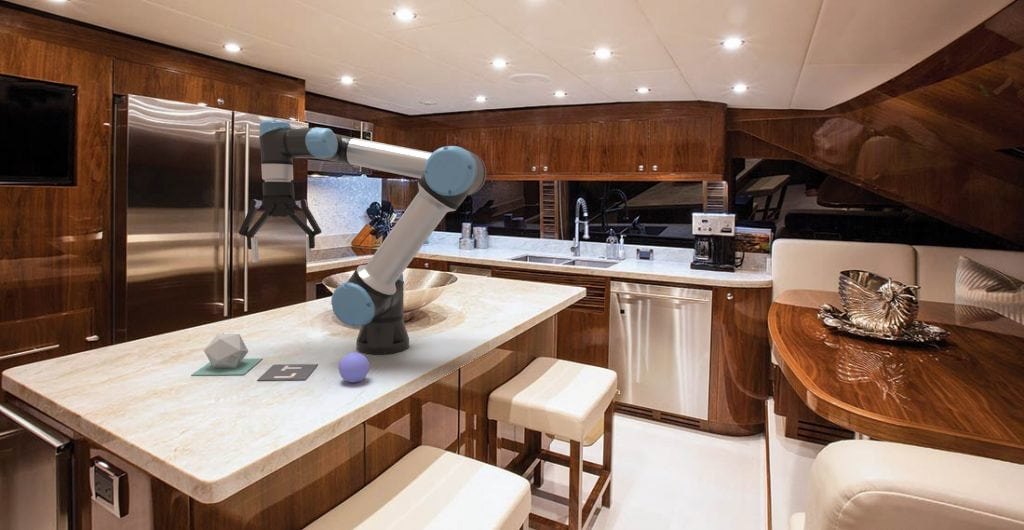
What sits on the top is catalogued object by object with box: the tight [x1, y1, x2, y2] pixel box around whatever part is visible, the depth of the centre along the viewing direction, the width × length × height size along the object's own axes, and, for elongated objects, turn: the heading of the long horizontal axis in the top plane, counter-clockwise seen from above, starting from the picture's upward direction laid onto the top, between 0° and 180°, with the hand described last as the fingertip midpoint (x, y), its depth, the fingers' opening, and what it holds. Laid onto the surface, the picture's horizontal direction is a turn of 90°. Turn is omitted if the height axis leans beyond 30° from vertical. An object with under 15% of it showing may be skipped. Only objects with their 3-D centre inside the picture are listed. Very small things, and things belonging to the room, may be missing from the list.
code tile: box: [256, 363, 318, 382], centre depth 125 cm, size 11×11×1 cm
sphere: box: [338, 352, 370, 383], centre depth 121 cm, size 7×7×7 cm
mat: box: [190, 357, 263, 377], centre depth 128 cm, size 12×12×1 cm
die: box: [203, 333, 249, 368], centre depth 127 cm, size 8×9×10 cm
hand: (282, 261), depth 136 cm, fingers open, 13 cm apart
